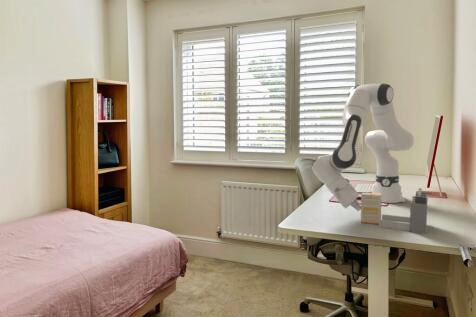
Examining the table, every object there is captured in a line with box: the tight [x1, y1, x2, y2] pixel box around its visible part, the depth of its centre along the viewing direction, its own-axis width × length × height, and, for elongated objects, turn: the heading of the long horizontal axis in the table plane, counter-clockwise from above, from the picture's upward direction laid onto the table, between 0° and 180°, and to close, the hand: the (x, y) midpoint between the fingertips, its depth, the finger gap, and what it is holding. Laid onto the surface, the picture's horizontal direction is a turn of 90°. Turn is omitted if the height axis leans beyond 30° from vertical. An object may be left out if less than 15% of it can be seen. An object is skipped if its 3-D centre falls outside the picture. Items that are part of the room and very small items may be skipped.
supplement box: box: [360, 192, 382, 225], centre depth 166 cm, size 8×5×13 cm, turn 64°
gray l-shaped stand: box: [378, 187, 429, 234], centre depth 160 cm, size 14×18×16 cm
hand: (360, 209), depth 168 cm, fingers closed, pressing on supplement box
